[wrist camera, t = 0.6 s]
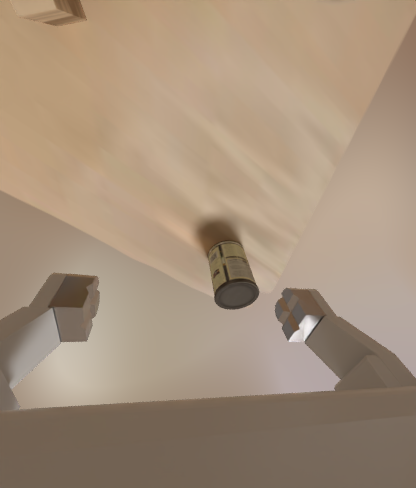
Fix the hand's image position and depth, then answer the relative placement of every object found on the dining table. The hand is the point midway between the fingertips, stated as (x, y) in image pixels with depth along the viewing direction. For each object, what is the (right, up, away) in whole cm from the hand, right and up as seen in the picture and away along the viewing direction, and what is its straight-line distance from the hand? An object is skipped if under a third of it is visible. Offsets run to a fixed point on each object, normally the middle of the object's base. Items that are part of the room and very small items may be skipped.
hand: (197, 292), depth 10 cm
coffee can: (+6, -1, +52) cm, 52 cm away
